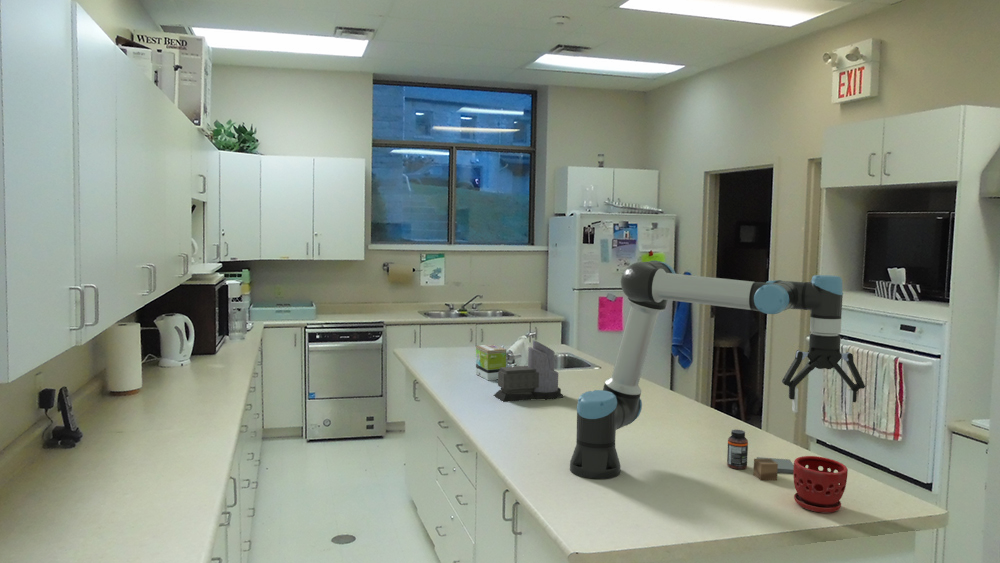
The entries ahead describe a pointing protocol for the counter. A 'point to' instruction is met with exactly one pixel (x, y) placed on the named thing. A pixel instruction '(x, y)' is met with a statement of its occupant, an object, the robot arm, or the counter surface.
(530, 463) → the counter surface
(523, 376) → the juicer
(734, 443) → the supplement bottle
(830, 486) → the plant pot
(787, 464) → the coaster
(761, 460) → the walnut cube
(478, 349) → the tea box
